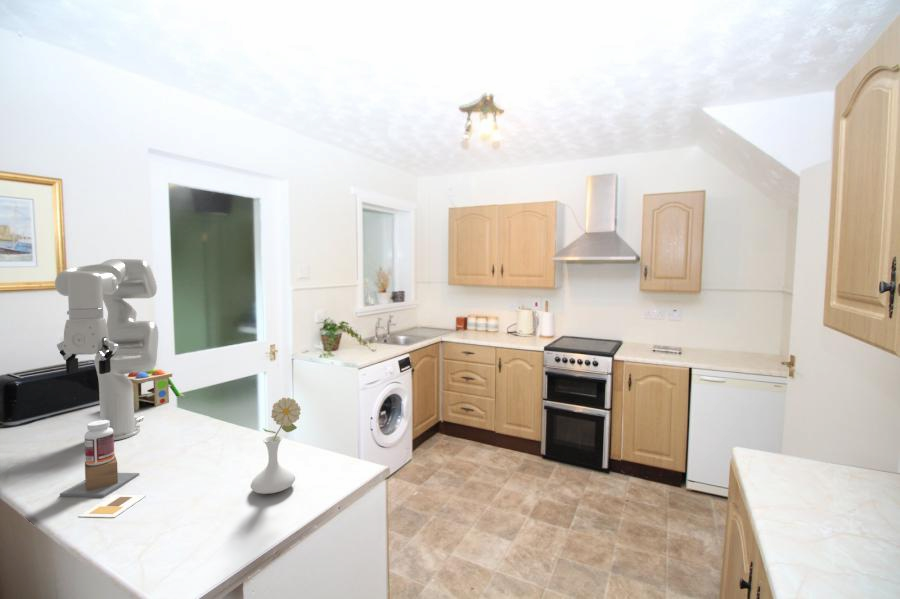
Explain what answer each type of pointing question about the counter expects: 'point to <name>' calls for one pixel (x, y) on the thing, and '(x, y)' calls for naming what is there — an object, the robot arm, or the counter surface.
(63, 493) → the slate plate
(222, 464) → the counter surface
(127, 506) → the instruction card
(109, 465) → the walnut block
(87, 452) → the pill bottle
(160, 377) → the pounding bench toy
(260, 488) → the flower in vase
